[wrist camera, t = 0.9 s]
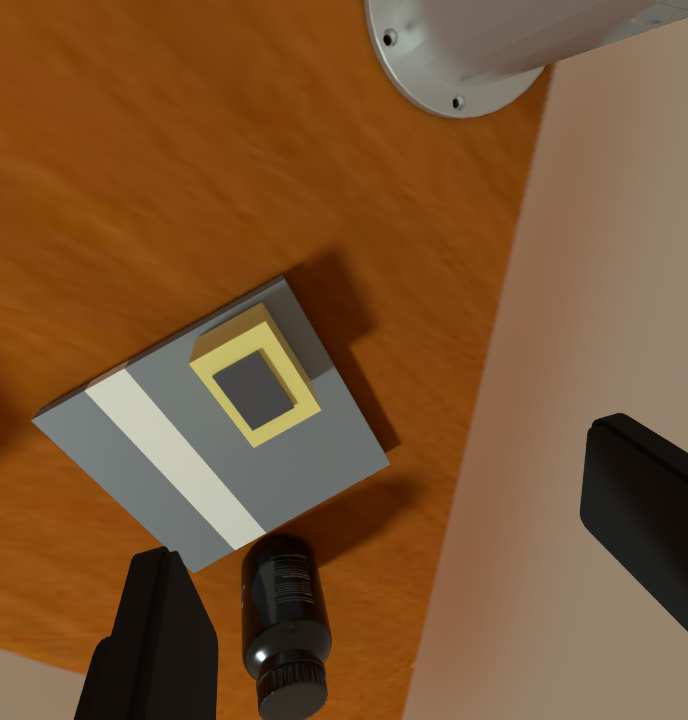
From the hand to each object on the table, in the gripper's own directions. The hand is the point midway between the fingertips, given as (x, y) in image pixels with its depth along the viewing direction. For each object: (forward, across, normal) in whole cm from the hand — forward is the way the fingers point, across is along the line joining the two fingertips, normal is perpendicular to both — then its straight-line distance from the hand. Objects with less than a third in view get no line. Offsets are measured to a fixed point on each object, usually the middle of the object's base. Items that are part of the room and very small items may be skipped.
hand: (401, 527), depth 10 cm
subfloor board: (+23, +7, +10) cm, 26 cm away
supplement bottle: (+23, +6, +25) cm, 35 cm away
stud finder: (+21, +3, +4) cm, 22 cm away
